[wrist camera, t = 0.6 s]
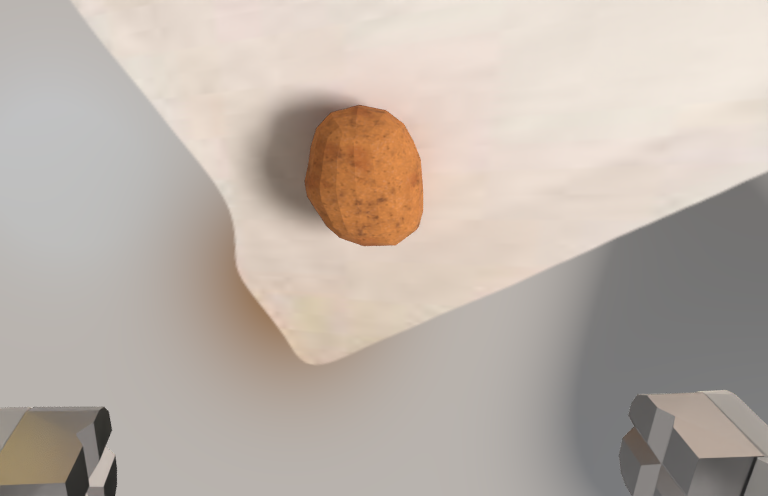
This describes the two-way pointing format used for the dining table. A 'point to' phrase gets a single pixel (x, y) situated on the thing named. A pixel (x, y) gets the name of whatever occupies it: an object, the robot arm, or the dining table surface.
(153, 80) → the dining table surface
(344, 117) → the potato
